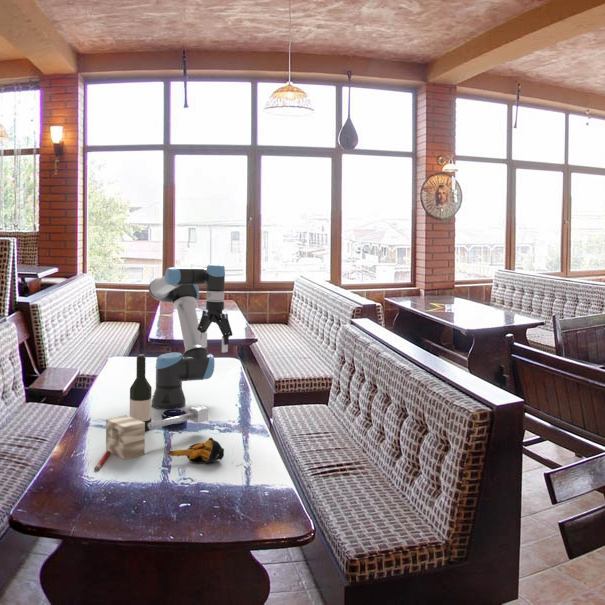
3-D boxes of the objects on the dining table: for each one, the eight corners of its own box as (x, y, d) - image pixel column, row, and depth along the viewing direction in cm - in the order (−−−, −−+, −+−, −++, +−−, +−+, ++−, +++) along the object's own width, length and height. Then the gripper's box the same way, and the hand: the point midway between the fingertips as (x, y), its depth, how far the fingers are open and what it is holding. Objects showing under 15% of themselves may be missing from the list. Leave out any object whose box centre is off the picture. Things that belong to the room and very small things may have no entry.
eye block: (106, 450, 222) (106, 419, 221) (127, 445, 228) (127, 414, 227) (124, 459, 214) (124, 427, 213) (146, 453, 220) (146, 422, 219)
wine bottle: (155, 427, 250) (156, 354, 246) (141, 433, 242) (142, 357, 239) (139, 424, 253) (139, 352, 250) (125, 429, 246) (125, 355, 242)
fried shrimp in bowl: (229, 453, 211) (179, 441, 204) (216, 476, 215) (166, 465, 208) (226, 435, 219) (178, 423, 212) (214, 458, 223) (166, 447, 216)
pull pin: (145, 431, 230) (145, 417, 229) (199, 417, 249) (200, 405, 248) (153, 434, 226) (153, 421, 226) (207, 420, 245) (208, 408, 245)
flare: (94, 471, 203) (94, 466, 203) (105, 455, 218) (105, 450, 218) (99, 471, 204) (99, 466, 203) (110, 455, 218) (110, 450, 218)
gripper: (189, 298, 270) (189, 346, 273) (228, 304, 254) (226, 355, 256) (203, 297, 276) (202, 344, 278) (241, 303, 259) (240, 353, 262)
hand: (214, 349), depth 267 cm, fingers open, 13 cm apart
